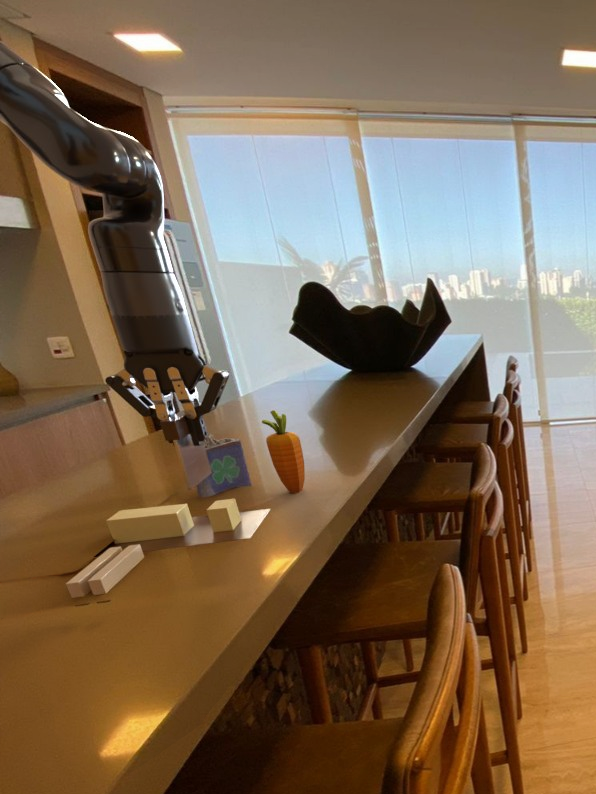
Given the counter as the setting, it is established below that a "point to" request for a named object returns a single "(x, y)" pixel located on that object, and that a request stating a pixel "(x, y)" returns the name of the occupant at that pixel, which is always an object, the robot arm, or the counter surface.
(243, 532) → the board
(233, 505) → the butter slice
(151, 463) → the counter surface
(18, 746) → the counter surface
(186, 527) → the butter
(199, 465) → the dough scraper
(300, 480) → the carrot
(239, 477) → the flask
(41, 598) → the counter surface
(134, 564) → the rest
